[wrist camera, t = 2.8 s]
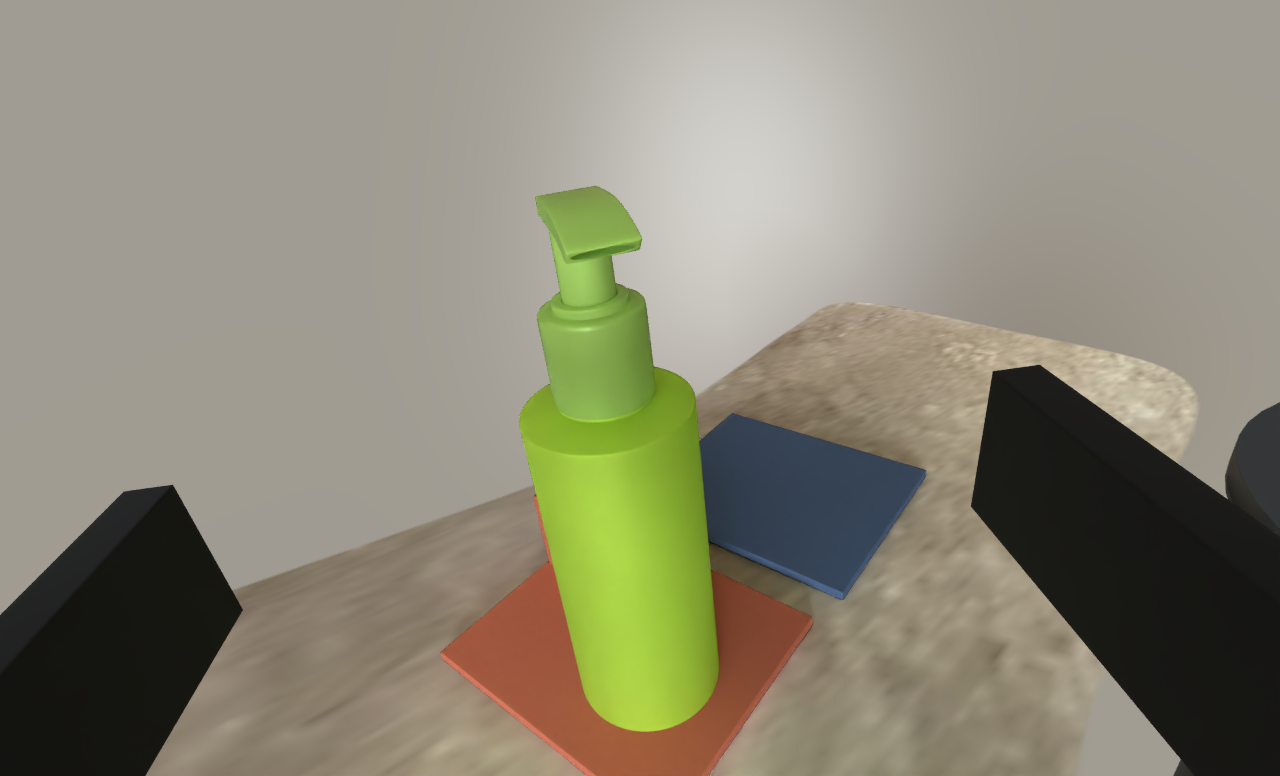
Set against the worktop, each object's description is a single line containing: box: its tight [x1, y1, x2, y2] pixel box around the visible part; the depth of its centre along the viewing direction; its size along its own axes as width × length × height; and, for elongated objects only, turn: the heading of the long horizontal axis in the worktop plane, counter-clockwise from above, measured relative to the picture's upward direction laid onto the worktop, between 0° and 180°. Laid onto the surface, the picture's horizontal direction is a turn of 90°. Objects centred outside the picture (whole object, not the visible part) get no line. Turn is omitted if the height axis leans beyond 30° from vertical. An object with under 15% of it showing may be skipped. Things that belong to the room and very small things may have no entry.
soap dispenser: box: [519, 186, 719, 732], centre depth 23 cm, size 6×7×20 cm
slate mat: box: [699, 413, 926, 600], centre depth 38 cm, size 13×11×1 cm
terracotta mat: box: [440, 561, 812, 776], centre depth 30 cm, size 13×11×1 cm
